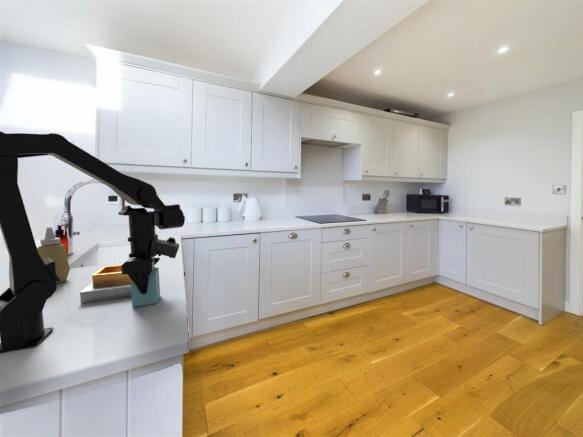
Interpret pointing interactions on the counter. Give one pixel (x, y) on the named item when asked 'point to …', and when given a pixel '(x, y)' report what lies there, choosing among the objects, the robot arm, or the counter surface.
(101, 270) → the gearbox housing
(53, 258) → the squeeze bottle
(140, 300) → the oil can
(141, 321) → the counter surface
